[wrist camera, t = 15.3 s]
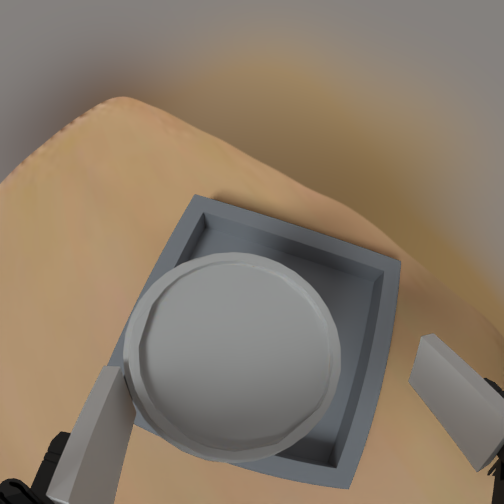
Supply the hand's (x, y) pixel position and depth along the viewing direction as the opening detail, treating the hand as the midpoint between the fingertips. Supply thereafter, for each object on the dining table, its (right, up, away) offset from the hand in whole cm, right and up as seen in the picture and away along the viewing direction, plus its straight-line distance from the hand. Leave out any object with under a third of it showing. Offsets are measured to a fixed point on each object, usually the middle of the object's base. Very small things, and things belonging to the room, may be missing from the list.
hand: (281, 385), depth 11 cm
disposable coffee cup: (-4, -3, +10) cm, 12 cm away
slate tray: (0, -2, +13) cm, 13 cm away
